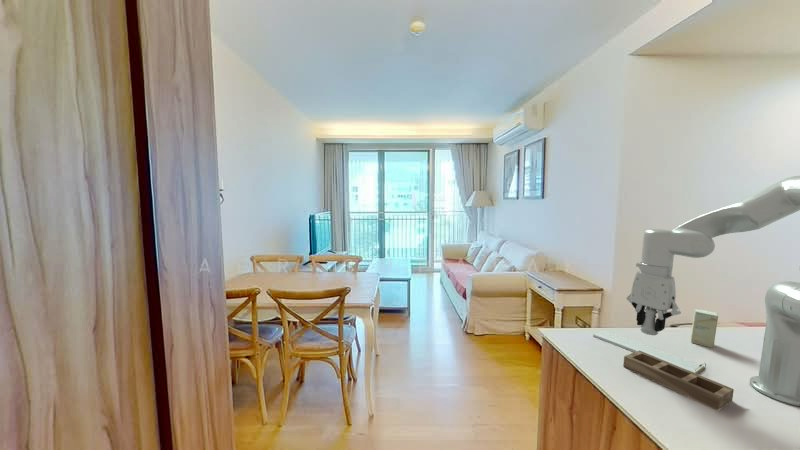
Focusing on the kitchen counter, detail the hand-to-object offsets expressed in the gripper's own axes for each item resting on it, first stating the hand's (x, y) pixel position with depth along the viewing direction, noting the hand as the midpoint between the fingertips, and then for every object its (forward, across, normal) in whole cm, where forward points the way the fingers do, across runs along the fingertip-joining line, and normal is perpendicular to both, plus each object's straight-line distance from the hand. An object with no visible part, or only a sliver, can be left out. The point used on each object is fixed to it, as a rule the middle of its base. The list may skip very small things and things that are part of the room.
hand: (649, 326), depth 99 cm
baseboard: (+15, -7, +14) cm, 22 cm away
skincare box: (+14, -1, +39) cm, 42 cm away
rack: (+14, +7, 0) cm, 16 cm away
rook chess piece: (+2, 0, 0) cm, 2 cm away
